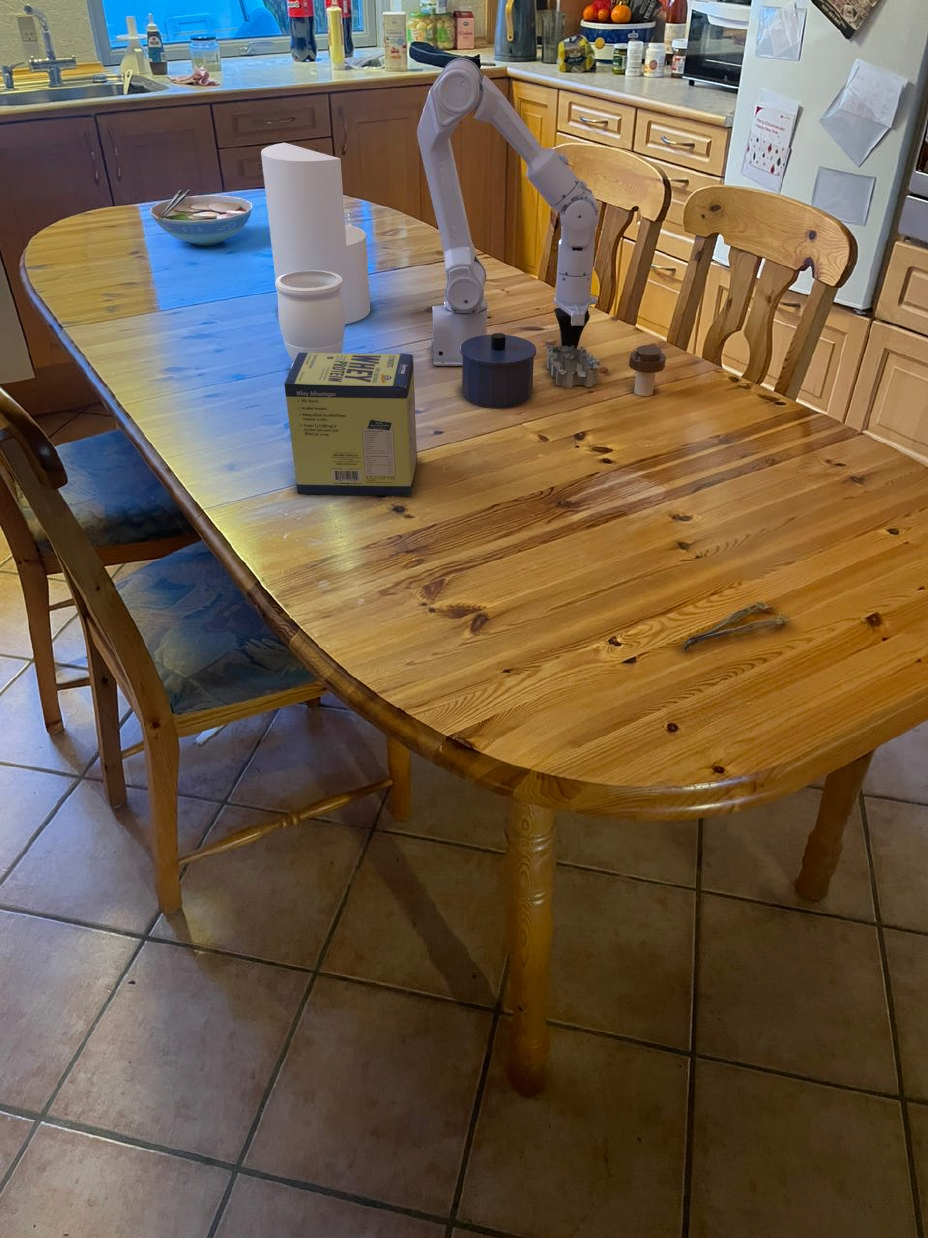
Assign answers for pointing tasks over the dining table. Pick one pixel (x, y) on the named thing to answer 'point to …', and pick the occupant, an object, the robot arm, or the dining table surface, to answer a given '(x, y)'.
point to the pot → (497, 384)
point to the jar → (311, 312)
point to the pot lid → (498, 350)
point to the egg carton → (572, 366)
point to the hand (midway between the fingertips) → (568, 352)
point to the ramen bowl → (202, 217)
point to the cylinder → (314, 222)
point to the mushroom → (646, 368)
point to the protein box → (352, 423)
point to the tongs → (735, 618)
